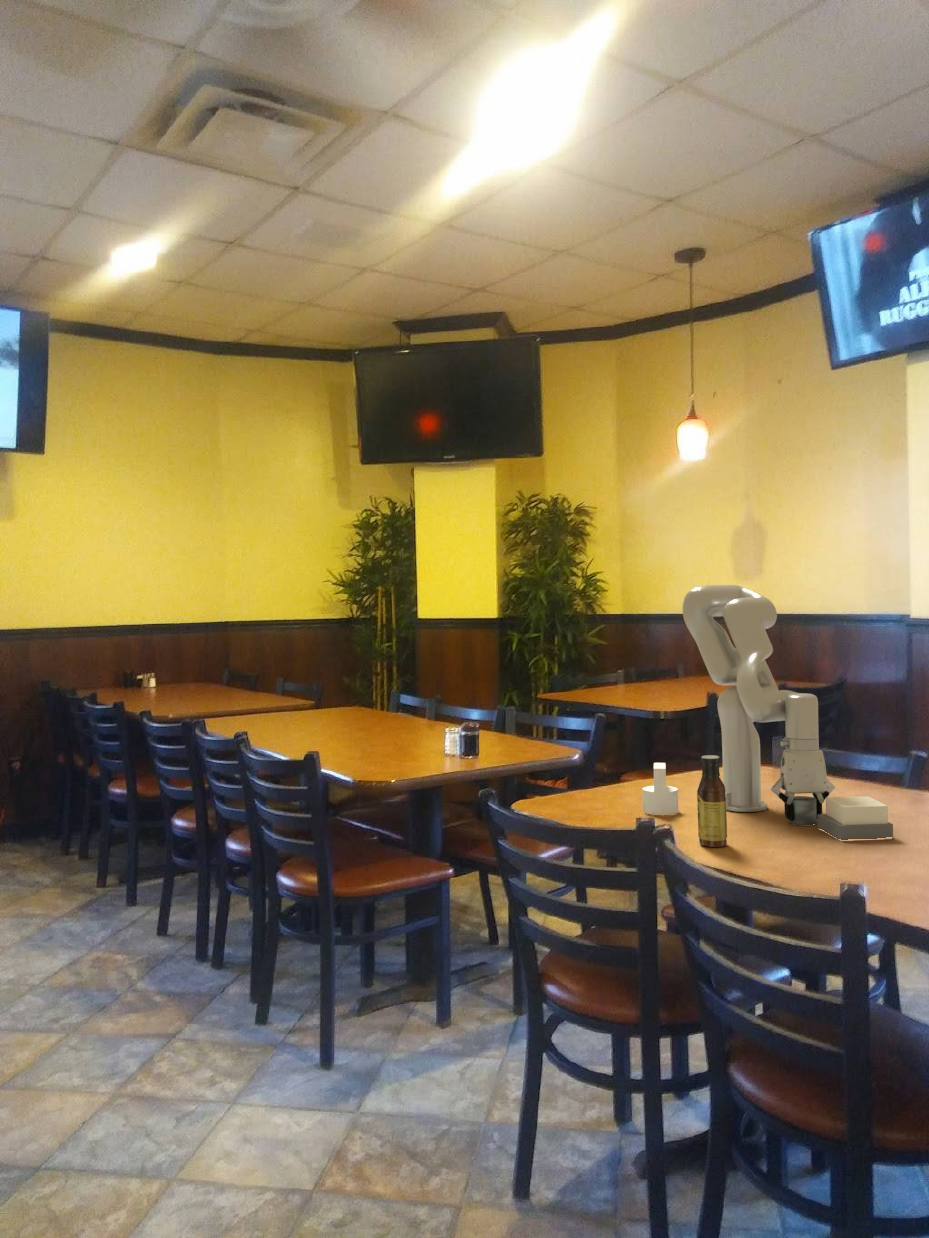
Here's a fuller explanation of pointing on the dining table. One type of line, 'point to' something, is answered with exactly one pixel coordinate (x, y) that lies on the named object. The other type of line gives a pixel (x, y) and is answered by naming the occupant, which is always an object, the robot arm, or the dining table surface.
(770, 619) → the robot arm
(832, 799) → the tower top
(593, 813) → the dining table surface
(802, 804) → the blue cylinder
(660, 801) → the cylinder with rectangular tab
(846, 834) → the tower bottom
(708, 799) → the sauce bottle
